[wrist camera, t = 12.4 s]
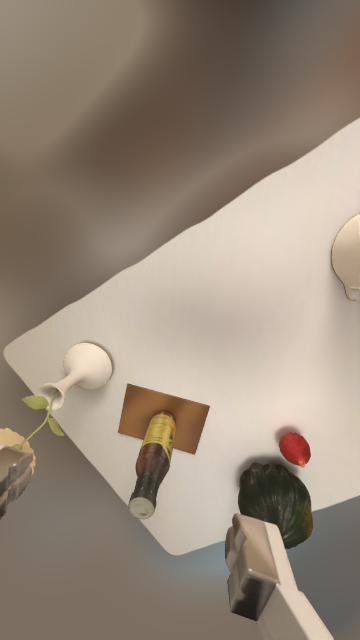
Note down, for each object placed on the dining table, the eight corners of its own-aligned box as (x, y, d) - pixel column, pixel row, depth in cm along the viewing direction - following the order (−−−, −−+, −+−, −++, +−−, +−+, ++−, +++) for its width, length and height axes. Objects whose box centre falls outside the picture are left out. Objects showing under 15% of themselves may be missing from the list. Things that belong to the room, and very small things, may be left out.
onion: (291, 419, 47) (309, 448, 39) (305, 437, 48) (326, 469, 40) (269, 431, 48) (282, 462, 40) (283, 449, 49) (298, 482, 41)
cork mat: (209, 405, 48) (209, 406, 48) (194, 453, 52) (194, 454, 51) (127, 383, 49) (127, 384, 49) (118, 431, 52) (117, 432, 52)
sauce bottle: (172, 435, 51) (154, 534, 31) (148, 427, 51) (115, 520, 32) (180, 413, 49) (166, 503, 30) (155, 404, 49) (126, 488, 30)
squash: (311, 534, 46) (340, 571, 34) (242, 532, 49) (245, 565, 36) (291, 458, 54) (309, 465, 41) (232, 460, 56) (232, 467, 43)
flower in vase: (61, 347, 49) (-77, 419, 25) (104, 334, 47) (0, 399, 23) (82, 395, 51) (-26, 505, 27) (124, 385, 49) (49, 493, 25)
